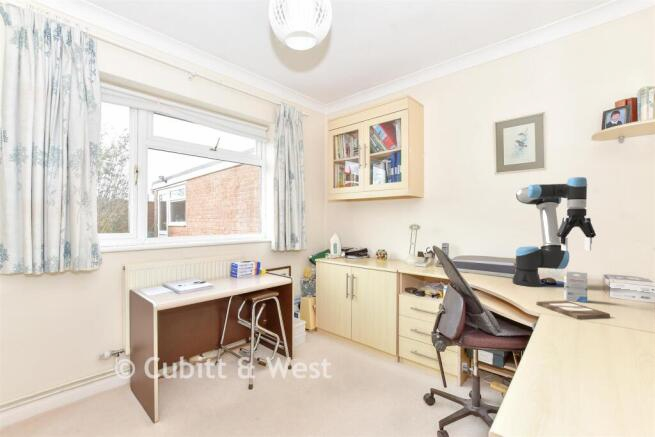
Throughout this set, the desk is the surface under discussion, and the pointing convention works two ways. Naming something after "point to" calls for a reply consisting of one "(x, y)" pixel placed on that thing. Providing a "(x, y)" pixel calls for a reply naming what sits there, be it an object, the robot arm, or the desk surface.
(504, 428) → the desk surface
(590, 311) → the stand board
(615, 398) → the desk surface
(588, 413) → the desk surface
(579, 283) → the ink box
